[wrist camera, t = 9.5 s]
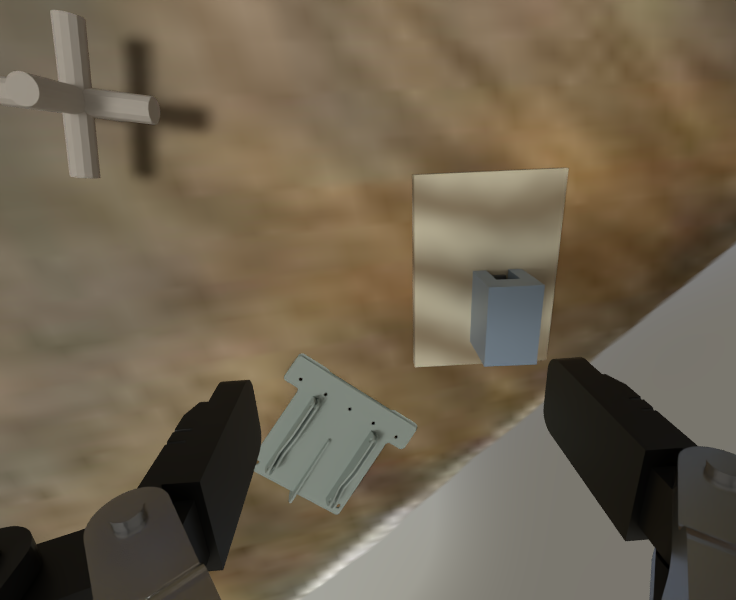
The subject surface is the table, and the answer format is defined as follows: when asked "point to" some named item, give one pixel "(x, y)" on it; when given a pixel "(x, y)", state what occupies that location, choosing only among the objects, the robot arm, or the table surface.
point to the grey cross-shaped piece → (76, 96)
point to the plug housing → (506, 318)
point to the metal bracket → (327, 437)
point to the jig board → (479, 250)
